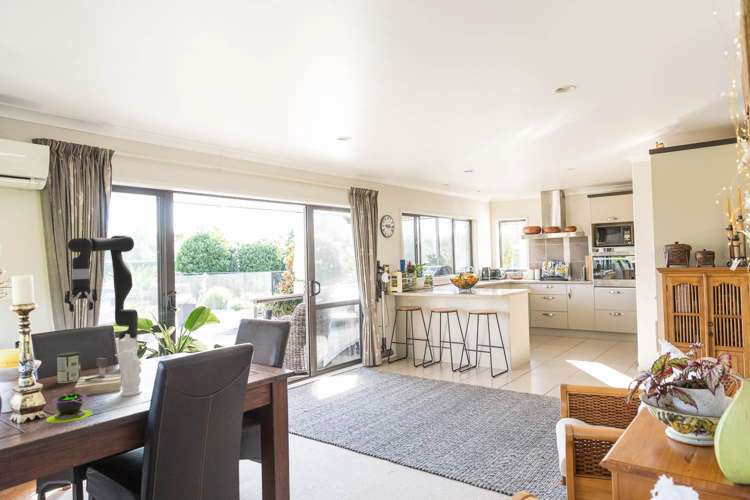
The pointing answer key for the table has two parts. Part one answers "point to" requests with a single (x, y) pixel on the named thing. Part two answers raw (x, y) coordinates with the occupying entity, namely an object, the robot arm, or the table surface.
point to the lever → (100, 368)
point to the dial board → (98, 384)
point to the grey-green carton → (68, 367)
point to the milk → (126, 347)
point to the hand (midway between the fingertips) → (81, 311)
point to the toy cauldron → (69, 409)
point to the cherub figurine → (130, 372)
